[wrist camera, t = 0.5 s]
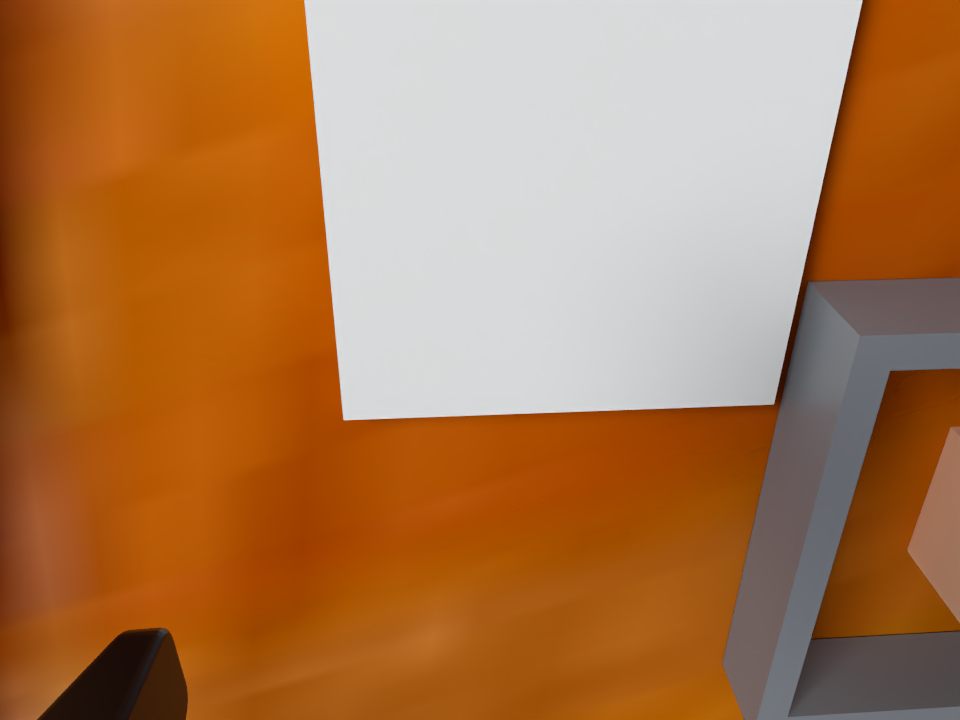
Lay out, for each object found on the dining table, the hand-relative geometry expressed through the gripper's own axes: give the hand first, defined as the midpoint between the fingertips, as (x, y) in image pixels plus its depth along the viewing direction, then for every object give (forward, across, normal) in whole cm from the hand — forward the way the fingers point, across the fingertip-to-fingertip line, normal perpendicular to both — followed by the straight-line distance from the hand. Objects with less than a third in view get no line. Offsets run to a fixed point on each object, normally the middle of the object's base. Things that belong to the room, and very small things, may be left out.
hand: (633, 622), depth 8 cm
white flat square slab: (+14, -2, 0) cm, 14 cm away
